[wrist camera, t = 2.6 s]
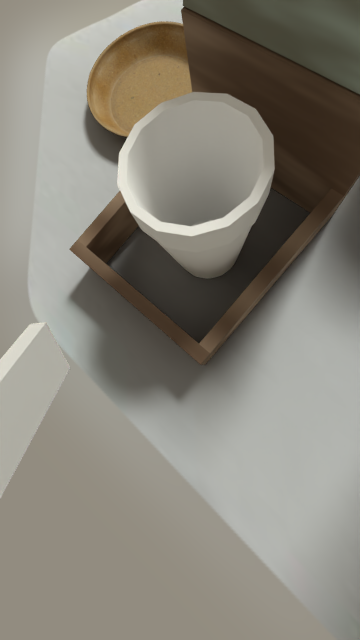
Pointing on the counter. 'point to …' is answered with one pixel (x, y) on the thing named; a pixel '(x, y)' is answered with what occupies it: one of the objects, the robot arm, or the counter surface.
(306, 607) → the counter surface
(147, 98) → the plant saucer
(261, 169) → the foam cup
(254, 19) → the cold frame
